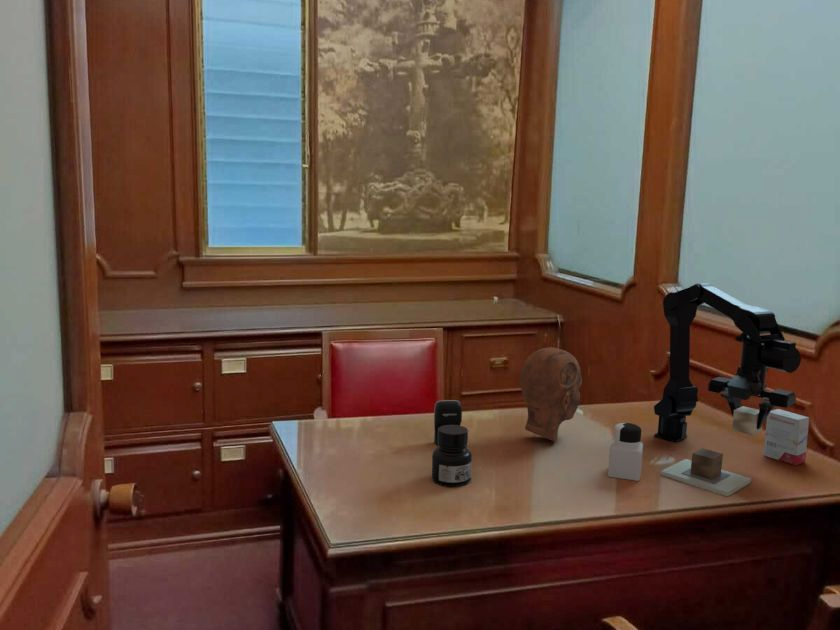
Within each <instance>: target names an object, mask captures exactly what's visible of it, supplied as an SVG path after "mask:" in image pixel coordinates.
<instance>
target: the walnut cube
mask: <svg viewBox="0 0 840 630" xmlns="http://www.w3.org/2000/svg"><path fill="white" fill-rule="evenodd" d="M723 457H724V454H723V453H721V452H718V451H715V450H714V451H713V450H710V449H707V448H704V447H701V448H700V449H697V450H696V451H693V452H692V453H691V461H692V462H691V474H694V475H698V476H701V477H704V478H707V479H710V480H712V479H713V478H715V477H717V476H719V475H720V474H721V470H723V469H722V467H723Z"/></svg>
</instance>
